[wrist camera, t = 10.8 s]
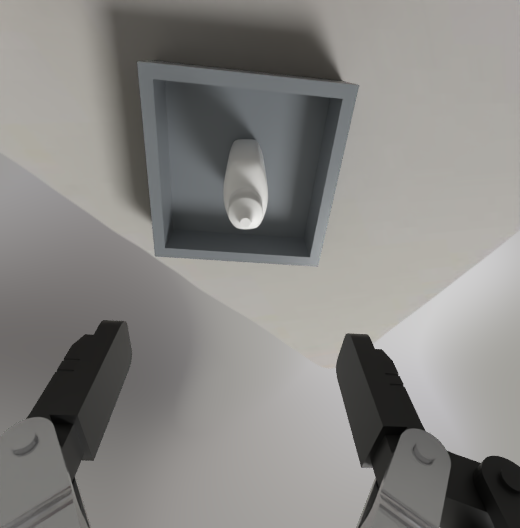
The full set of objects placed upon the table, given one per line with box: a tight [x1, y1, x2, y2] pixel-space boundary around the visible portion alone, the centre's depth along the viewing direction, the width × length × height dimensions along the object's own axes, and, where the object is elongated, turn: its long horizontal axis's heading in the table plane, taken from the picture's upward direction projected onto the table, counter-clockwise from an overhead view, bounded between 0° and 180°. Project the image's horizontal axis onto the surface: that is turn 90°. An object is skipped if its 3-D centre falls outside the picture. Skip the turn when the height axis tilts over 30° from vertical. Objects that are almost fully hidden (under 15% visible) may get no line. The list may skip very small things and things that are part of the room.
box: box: [137, 61, 359, 267], centre depth 30 cm, size 16×16×5 cm
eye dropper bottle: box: [223, 139, 268, 230], centre depth 26 cm, size 4×6×12 cm
